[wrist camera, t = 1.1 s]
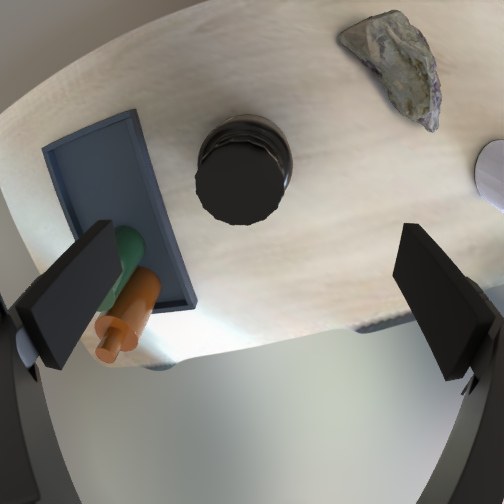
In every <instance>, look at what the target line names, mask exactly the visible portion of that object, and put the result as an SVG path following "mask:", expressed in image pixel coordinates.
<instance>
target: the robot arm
mask: <svg viewBox="0 0 504 504" xmlns="http://www.w3.org/2000/svg"><path fill="white" fill-rule="evenodd" d="M122 272H123V269H122V265H121V260H120V256H119V251H118V247H117V242H116V237H115V232H114V227H113V222H112V220H98V221H97V222H95V223H94V224H93V225H92V226H91V227H90V228H89V229H88V230H87V231H86V232H85V233H84V234H83V235H82V236H81V237H80V238H79V239H77V240H76V241H75V242H74V243H73V244H72V245H71V246H70V247H69V248H68V249H67V250H66V251H65V252H64V253H63V254H62V255H61V256H60V257H59V258H58V259H57V260H56V261H55V262H54V263H53V265H52V266H51V267H50V268H49V269H48V270H47V271H46V272H45V273H43V274H42V275H40V276H39V277H37V278H36V279H35V281H34V282H33V283H32V284H31V286H29V287H28V288H27V289H26V290H25V292H24V293H23V294H22V295H21V296H20V297H19V298H18V299H17V300H16V302H15V303H14V304H13V305H12V306H11V307H10V309H9V310H7V308H6V305H5V303H4V301H3V299H2V296H1V294H0V504H82V503H81V501H80V499H79V497H78V494H77V492H76V490H75V487H74V485H73V483H72V480H71V478H70V475H69V472H68V470H67V467H66V465H65V462H64V459H63V457H62V454H61V451H60V448H59V445H58V442H57V439H56V435H55V432H54V429H53V425H52V422H51V419H50V415H49V411H48V407H47V404H46V399H45V396H44V392H43V387H42V382H41V378H40V373H39V368H38V366H37V364H36V363H35V361H36V359H37V358H38V356H40V357H41V359H42V361H43V363H44V364H45V366H46V367H49V368H53V369H57V370H62V368H63V366H64V365H65V363H66V361H67V359H68V358H69V356H70V354H71V353H72V351H73V349H74V347H75V346H76V344H77V342H78V341H79V339H80V337H81V336H82V334H83V332H84V331H85V329H86V327H87V326H88V324H89V323H90V321H91V319H92V318H93V316H94V315H95V313H96V311H97V310H98V308H99V307H100V305H101V304H102V302H103V300H104V299H105V297H106V296H107V294H108V293H109V291H110V290H111V288H112V287H113V285H114V284H115V282H116V281H117V279H118V278H119V276H120V275H121V273H122ZM392 276H393V278H394V279H395V281H396V283H397V285H398V286H399V288H400V290H401V292H402V294H403V296H404V297H405V299H406V301H407V303H408V305H409V307H410V309H411V311H412V312H413V314H414V316H415V318H416V320H417V322H418V324H419V326H420V328H421V330H422V332H423V334H424V336H425V338H426V340H427V342H428V344H429V346H430V348H431V350H432V352H433V355H434V357H435V359H436V361H437V363H438V365H439V367H440V370H441V372H442V374H443V376H444V379H445V381H450V380H455V379H460V378H463V376H464V375H465V373H466V372H467V370H468V368H469V367H471V368H472V370H473V372H474V374H473V376H472V377H471V379H470V381H469V382H468V384H467V385H466V387H465V388H464V390H463V391H462V393H461V395H464V393H465V392H466V393H465V396H464V399H463V402H462V405H461V408H460V411H459V413H458V416H457V419H456V421H455V424H454V427H453V429H452V431H451V434H450V436H449V439H448V441H447V443H446V446H445V448H444V450H443V452H442V455H441V457H440V459H439V461H438V463H437V465H436V467H435V469H434V471H433V473H432V475H431V477H430V479H429V481H428V483H427V485H426V487H425V489H424V491H423V492H422V494H421V496H420V498H419V499H418V501H417V503H416V504H502V502H503V499H504V318H503V317H502V315H501V314H500V312H499V311H498V310H497V309H496V307H495V306H494V305H493V303H492V302H491V301H490V300H489V299H488V297H487V296H486V295H485V294H484V292H483V291H482V289H481V288H480V287H479V286H478V284H477V283H475V282H474V281H473V280H471V279H470V278H468V277H465V276H464V275H463V273H462V272H461V271H460V270H459V269H458V267H457V266H456V265H455V264H454V263H453V262H452V260H451V259H450V258H449V257H448V256H447V255H446V253H445V252H444V251H443V250H442V249H441V248H440V247H439V246H438V244H437V243H436V242H435V241H434V240H433V239H432V238H431V237H430V236H429V235H428V234H427V232H426V231H425V230H424V229H423V228H422V227H421V226H420V225H419V224H414V223H404V225H403V230H402V235H401V240H400V245H399V249H398V254H397V258H396V262H395V267H394V271H393V275H392Z"/></svg>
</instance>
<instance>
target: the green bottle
mask: <svg viewBox="0 0 504 504" xmlns="http://www.w3.org/2000/svg"><path fill="white" fill-rule="evenodd" d="M114 232H115V237H116V242H117V247H118V251H119V256H120V260H121V265H122V269H123V272H122V273H121V275H120V276H119V278H118V279H117V281H116V282H115V284H114V285H113V287H112V288H111V290H110V291H109V293H108V294H107V296H106V297H105V299H104V300H103V302H102V304H101V305H100V307H99V308H98V310H97V311H99V312H103V311H107V310H109V309H110V308H112V306H113V305H114V303H115V302H116V300H117V298H118V297H119V295H120V293H121V292H122V290H123V289H124V287H125V285H126V284H127V282H128V280H129V279H130V277H131V276H132V274H133V273H134V271H135V269H136V268H137V266H138V265H139V263H140V262H141V260H142V259H143V257H144V255H145V252H146V244H145V241H144V239H143V237H142V235H141V234H140V233H139V232H138V231H137V230H135V229H134V228H132V227H129V226H125V225H121V226H117V227H115V228H114Z"/></svg>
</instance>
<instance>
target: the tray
mask: <svg viewBox="0 0 504 504" xmlns="http://www.w3.org/2000/svg"><path fill="white" fill-rule="evenodd" d="M42 152H43V155H44V158H45V162H46V165H47V168H48V171H49V174H50V177H51V180H52V182H53V185H54V188H55V191H56V194H57V196H58V199H59V202H60V204H61V207H62V210H63V212H64V215H65V217H66V220H67V222H68V225H69V227H70V230H71V232H72V234H73V237H74V239H75V241H76V240H77V239H79V238H80V237H81V236H82V235H83V234H84V233H85V232H86V231H87V230H88V229H89V228H90V227H91V226H92V225H93V224H94V223H95V222H97V221H98V220H112V222H113V227H114V228H115V227H117V226H121V225H125V226H129V227H132V228H134V229H135V230H137V231H138V232H139V233H140V234H141V235H142V237H143V239H144V241H145V244H146V252H145V255H144V257H143V259H142V260H141V262H140V263H139V265H138V266H137V267H145V268H148V269H150V270H151V271H153V272H154V273H155V274H156V275H157V276H158V278H159V279H160V281H161V285H162V290H161V293H160V295H159V297H158V300H157V302H156V304H155V306H154V308H153V311H152V313H151V314H156V313H166V312H175V311H184V310H192V309H195V307H196V304H197V301H198V300H197V298H196V295H195V292H194V290H193V287H192V284H191V281H190V279H189V276H188V273H187V270H186V268H185V265H184V262H183V259H182V256H181V254H180V251H179V248H178V245H177V242H176V239H175V236H174V233H173V230H172V227H171V224H170V221H169V218H168V215H167V212H166V209H165V206H164V203H163V200H162V197H161V193H160V190H159V187H158V184H157V181H156V177H155V174H154V171H153V167H152V164H151V161H150V157H149V154H148V150H147V147H146V144H145V140H144V136H143V133H142V129H141V126H140V122H139V118H138V115H137V111H136V109H133V110H129V111H126V112H123V113H120V114H118V115H115V116H113V117H110V118H107V119H105V120H102V121H100V122H98V123H95V124H93V125H90V126H88V127H86V128H83V129H81V130H79V131H77V132H74V133H72V134H70V135H68V136H66V137H63V138H61V139H59V140H57V141H55V142H53V143H51V144H49V145H47V146H45V147H43V148H42Z"/></svg>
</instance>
